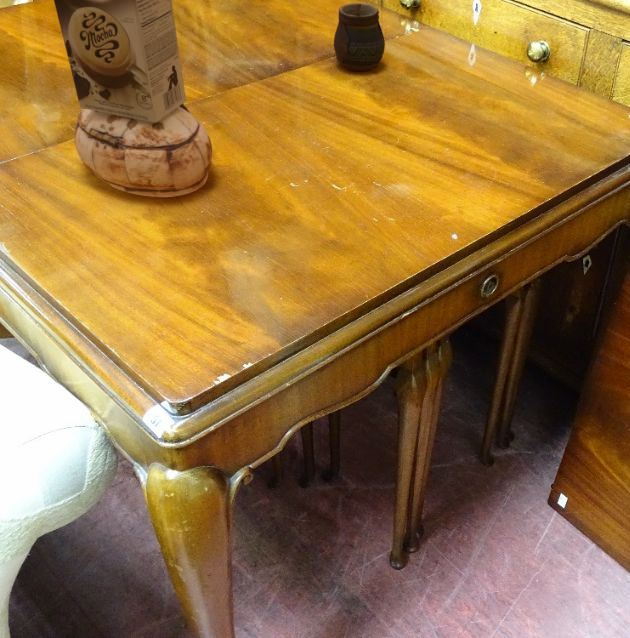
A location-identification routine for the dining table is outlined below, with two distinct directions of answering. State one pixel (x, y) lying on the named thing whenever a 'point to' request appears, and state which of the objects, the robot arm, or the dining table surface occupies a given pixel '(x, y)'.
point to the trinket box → (145, 152)
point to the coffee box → (123, 56)
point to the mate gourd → (359, 37)
